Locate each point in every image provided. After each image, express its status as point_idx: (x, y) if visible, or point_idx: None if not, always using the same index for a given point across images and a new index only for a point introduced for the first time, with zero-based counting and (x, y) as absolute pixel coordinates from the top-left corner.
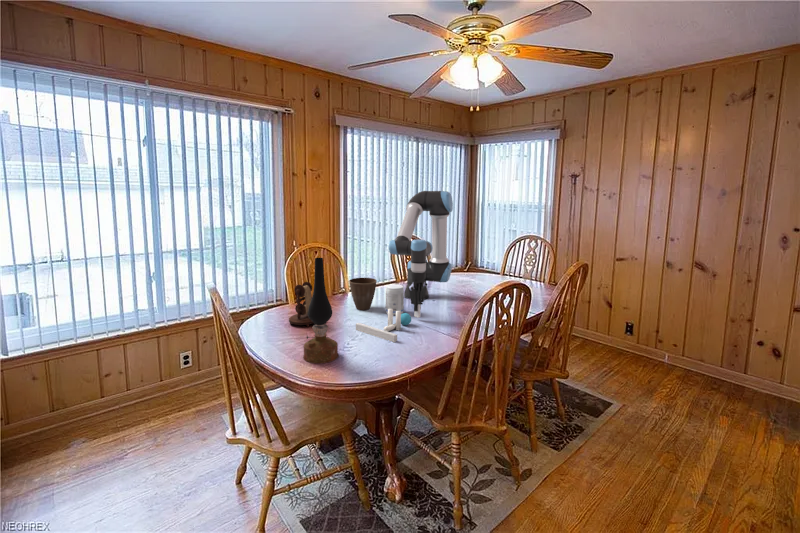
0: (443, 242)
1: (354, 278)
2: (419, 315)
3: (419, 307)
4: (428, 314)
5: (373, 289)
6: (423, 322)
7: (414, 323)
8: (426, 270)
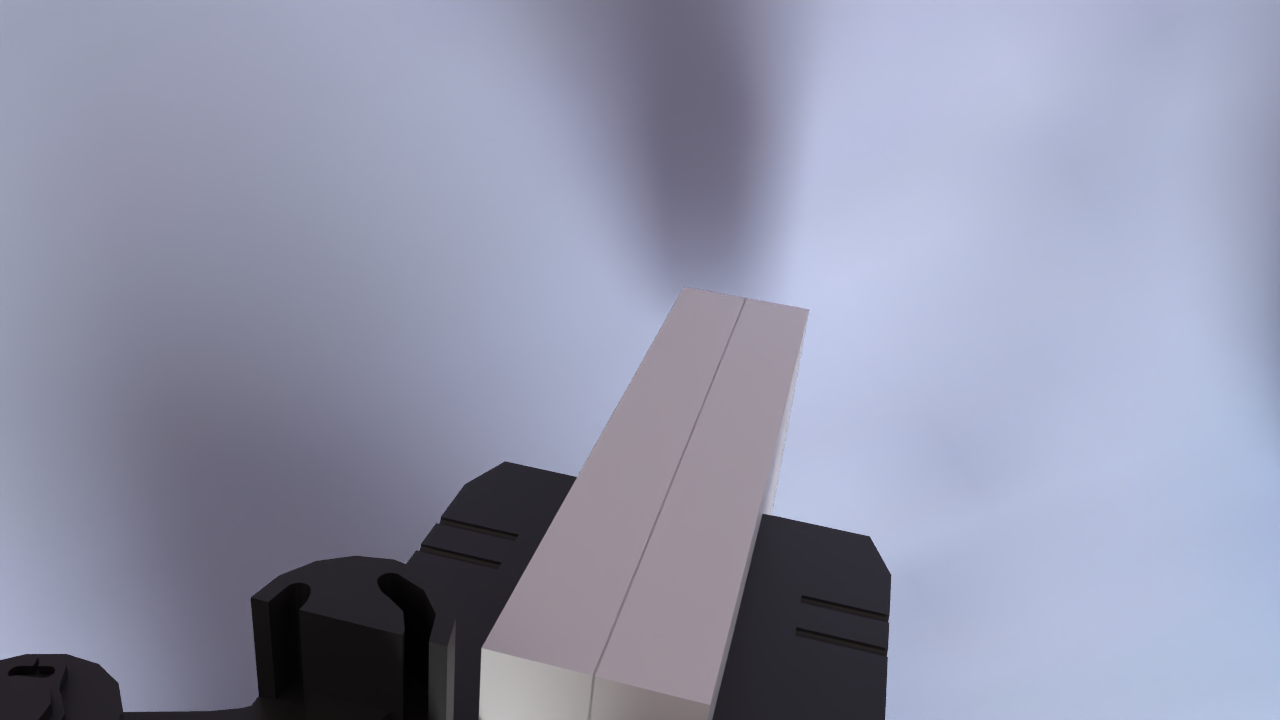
0: None
1: None
2: (722, 328)
3: (651, 554)
4: (3, 313)
5: None
6: (827, 18)
7: (1146, 259)
8: None
